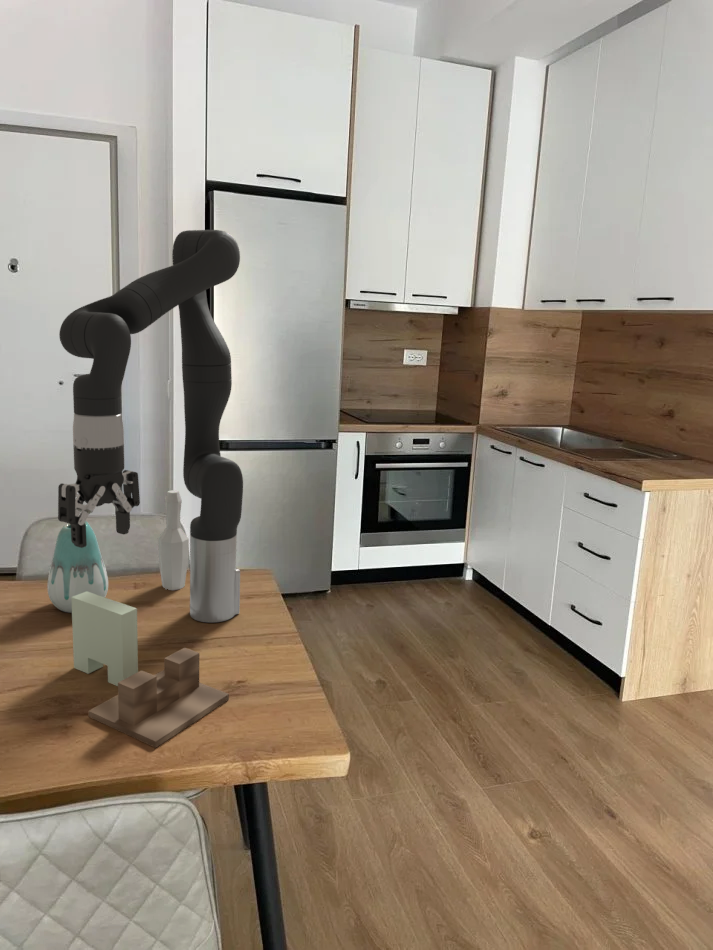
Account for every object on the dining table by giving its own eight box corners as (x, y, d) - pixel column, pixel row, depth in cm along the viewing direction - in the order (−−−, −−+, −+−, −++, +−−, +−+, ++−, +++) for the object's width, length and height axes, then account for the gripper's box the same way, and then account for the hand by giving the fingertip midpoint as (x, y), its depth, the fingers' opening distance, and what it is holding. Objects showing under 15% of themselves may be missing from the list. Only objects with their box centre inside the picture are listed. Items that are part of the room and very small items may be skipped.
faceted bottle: (193, 586, 161) (194, 492, 157) (170, 593, 156) (170, 496, 152) (176, 578, 165) (175, 486, 160) (153, 586, 160) (152, 491, 155)
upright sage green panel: (89, 660, 126) (87, 591, 123) (138, 680, 120) (137, 608, 117) (73, 667, 123) (71, 597, 120) (123, 688, 117) (121, 614, 114)
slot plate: (165, 674, 122) (164, 636, 121) (228, 699, 116) (229, 659, 114) (88, 716, 109) (87, 674, 107) (155, 747, 102) (155, 703, 101)
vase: (43, 619, 141) (39, 532, 137) (53, 597, 152) (50, 515, 148) (105, 617, 143) (103, 531, 139) (111, 594, 154) (109, 515, 150)
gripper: (117, 433, 120) (120, 525, 124) (43, 444, 108) (48, 546, 112) (149, 439, 117) (151, 533, 120) (77, 451, 105) (81, 556, 108)
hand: (101, 539), depth 116 cm, fingers open, 8 cm apart
